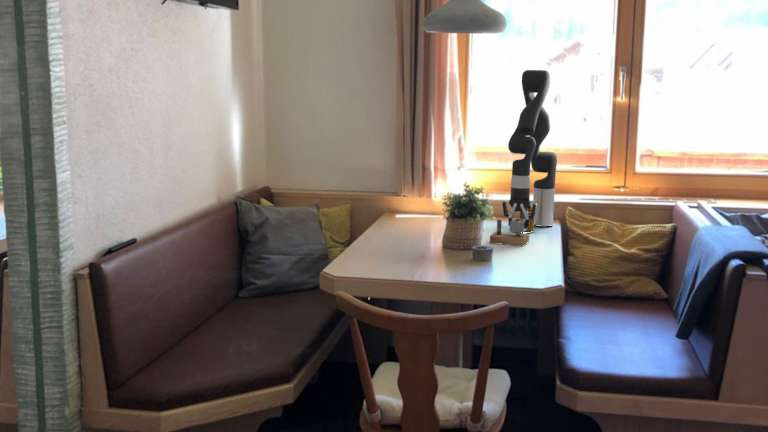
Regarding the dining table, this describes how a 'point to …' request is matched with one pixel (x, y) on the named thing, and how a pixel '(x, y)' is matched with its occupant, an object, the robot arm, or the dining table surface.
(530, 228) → the condiment
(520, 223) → the link
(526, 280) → the dining table surface
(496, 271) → the dining table surface
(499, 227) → the keeper
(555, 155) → the robot arm
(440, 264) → the dining table surface
